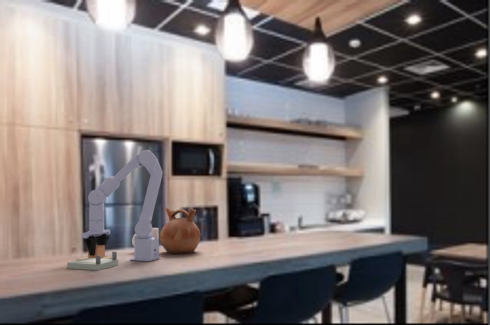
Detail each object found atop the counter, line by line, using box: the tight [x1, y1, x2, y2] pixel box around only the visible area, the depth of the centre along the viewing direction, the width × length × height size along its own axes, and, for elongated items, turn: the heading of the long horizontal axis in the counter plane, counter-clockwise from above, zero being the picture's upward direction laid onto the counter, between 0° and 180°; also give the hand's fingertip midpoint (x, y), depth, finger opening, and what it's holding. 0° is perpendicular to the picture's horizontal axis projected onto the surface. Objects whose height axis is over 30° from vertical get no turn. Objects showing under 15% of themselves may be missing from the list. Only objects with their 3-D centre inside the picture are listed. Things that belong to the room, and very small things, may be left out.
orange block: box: [87, 244, 106, 258], centre depth 167 cm, size 5×5×4 cm
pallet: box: [75, 255, 112, 261], centre depth 167 cm, size 12×9×1 cm
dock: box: [66, 251, 119, 271], centre depth 155 cm, size 14×11×5 cm
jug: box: [159, 207, 201, 255], centre depth 188 cm, size 18×18×20 cm
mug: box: [131, 227, 159, 247], centre depth 192 cm, size 12×8×10 cm
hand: (96, 254), depth 167 cm, fingers closed on orange block, 4 cm apart
